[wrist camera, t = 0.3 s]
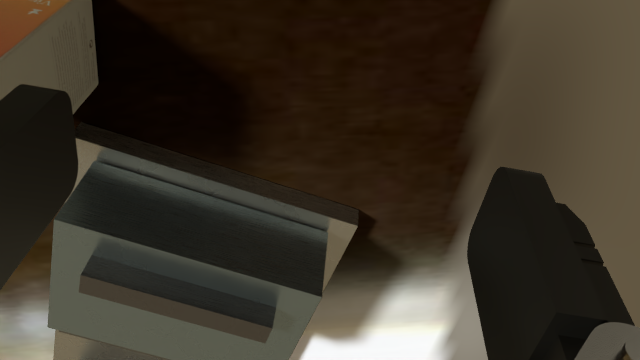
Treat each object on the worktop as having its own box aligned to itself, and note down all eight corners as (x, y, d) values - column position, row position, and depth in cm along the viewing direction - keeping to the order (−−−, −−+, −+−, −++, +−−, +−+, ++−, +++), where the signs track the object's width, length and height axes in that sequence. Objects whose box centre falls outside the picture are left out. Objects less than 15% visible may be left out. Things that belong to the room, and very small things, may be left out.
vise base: (81, 121, 32) (25, 193, 27) (358, 209, 35) (355, 290, 29) (57, 389, 50) (21, 463, 45) (241, 435, 53) (226, 510, 47)
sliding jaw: (94, 160, 32) (40, 239, 27) (328, 232, 34) (319, 318, 29) (81, 273, 38) (36, 354, 33) (281, 328, 40) (267, 414, 35)
